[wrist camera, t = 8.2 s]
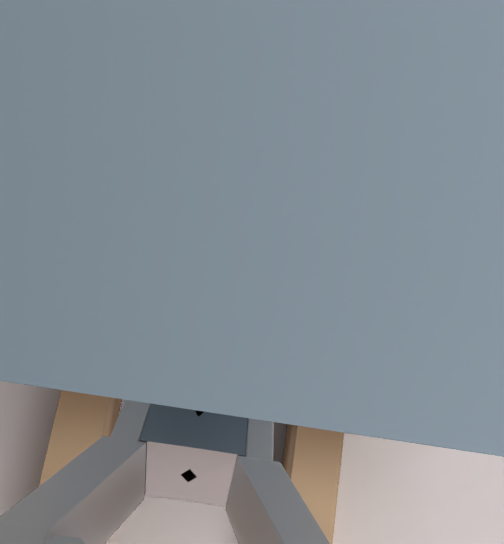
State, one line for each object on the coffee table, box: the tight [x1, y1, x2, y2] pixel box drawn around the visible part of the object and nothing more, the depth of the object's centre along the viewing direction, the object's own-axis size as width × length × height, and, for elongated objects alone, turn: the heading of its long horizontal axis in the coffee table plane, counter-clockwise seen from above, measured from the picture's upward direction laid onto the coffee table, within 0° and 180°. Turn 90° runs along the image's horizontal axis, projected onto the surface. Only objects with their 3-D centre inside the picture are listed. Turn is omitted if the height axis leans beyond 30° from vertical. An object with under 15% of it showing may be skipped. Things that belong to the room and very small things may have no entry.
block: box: [0, 0, 504, 457], centre depth 9 cm, size 5×5×14 cm
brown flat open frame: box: [39, 390, 344, 544], centre depth 15 cm, size 18×9×3 cm, turn 171°
